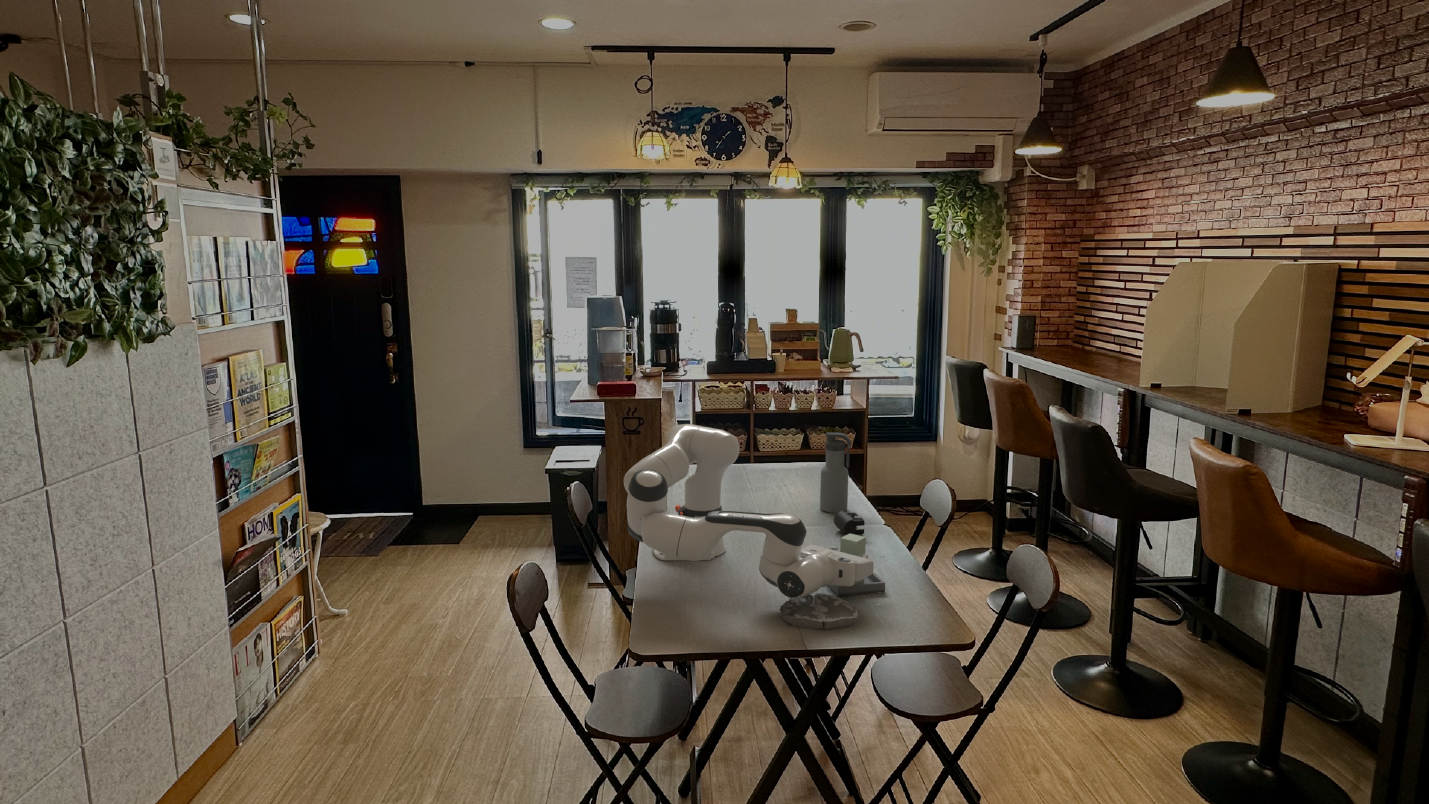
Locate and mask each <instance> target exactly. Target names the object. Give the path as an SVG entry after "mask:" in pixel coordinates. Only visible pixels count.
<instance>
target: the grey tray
mask: <svg viewBox="0 0 1429 804" xmlns="http://www.w3.org/2000/svg"><path fill="white" fill-rule="evenodd" d="M827 587H828V588H829V589H830V590H831V592H833V593H834V594H835V595H836V597H838V598H839V597H847V596H848V597H849V596H860V595H859V594H861V595H871V593H873V594H879V593H878V592H885V593H886V582H885V581H884V580H883V579H882V578H881V577H879V576H878V574H877V573H876V572H874V571H873V573H872V574H871V575H870V576H869V577H867V578H865V579H864V582H863V583H861V584H854V585H853V586H842V585H828V586H827Z"/></svg>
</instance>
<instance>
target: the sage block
mask: <svg viewBox="0 0 1429 804" xmlns="http://www.w3.org/2000/svg"><path fill="white" fill-rule="evenodd" d="M866 541H867V537H866V536H864V535H863V536H859V535H855V534H851V533H850V534H848V535H843V536H842V537H840V548H839V551H840V552H844V553H848V554H851V555H855V556H859V557H860V555H862V554H866V547H867V546H866ZM863 582H864V579H863V580H861V581H856V582H854V584H861V583H863Z"/></svg>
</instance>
